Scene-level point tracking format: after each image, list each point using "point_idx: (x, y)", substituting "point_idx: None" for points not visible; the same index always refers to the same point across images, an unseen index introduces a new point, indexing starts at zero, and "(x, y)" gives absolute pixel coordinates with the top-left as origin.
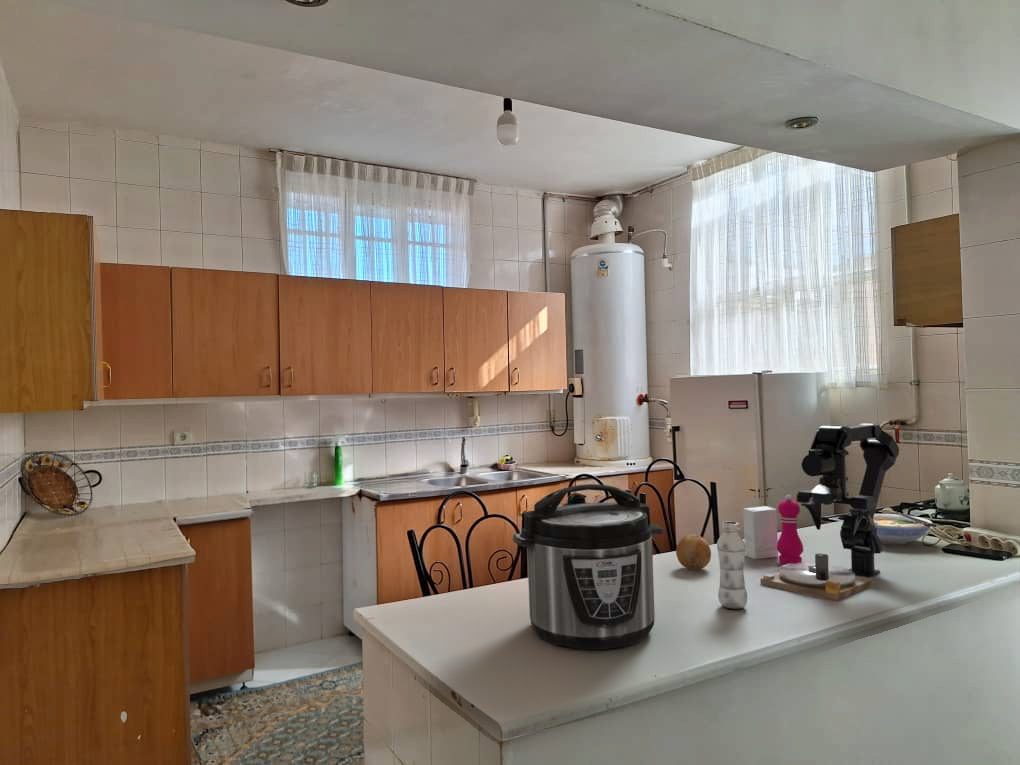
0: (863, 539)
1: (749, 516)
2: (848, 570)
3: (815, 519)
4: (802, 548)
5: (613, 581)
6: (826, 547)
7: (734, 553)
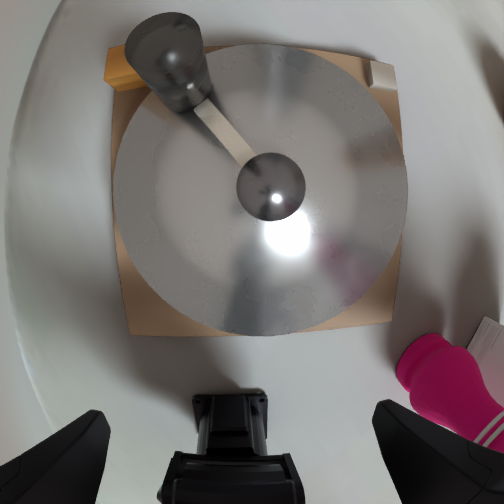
0: (182, 479)
1: None
2: (180, 302)
3: (435, 442)
4: (414, 399)
5: None
6: (377, 483)
7: None
